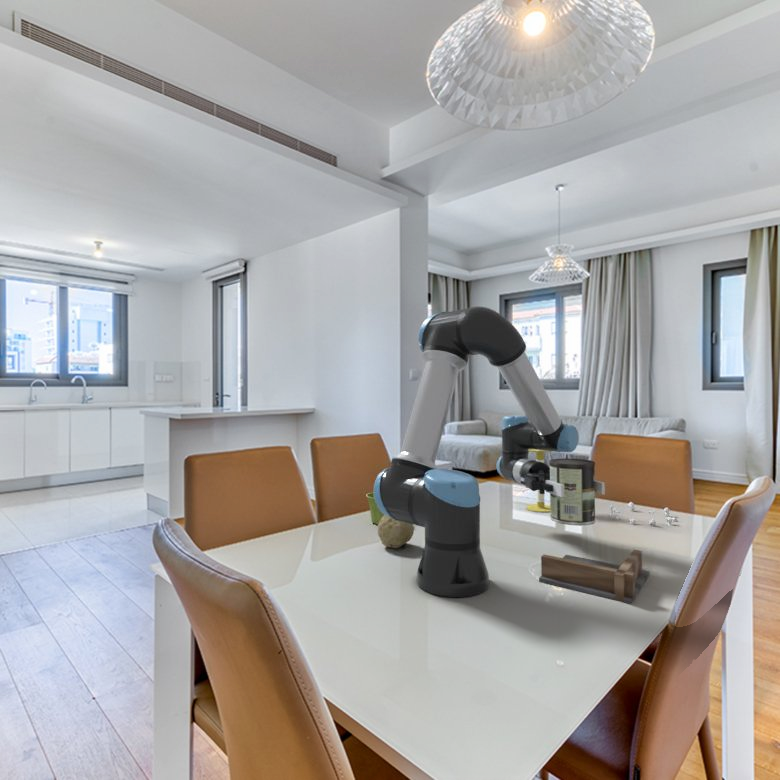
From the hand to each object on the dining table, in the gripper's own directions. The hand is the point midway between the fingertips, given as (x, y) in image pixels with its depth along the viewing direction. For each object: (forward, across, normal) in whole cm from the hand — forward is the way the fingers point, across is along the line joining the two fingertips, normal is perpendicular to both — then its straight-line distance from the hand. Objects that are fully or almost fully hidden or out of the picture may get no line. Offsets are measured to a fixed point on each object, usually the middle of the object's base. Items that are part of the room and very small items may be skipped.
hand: (583, 489), depth 111 cm
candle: (-51, -20, -18) cm, 58 cm away
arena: (+6, +2, -18) cm, 19 cm away
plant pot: (-50, +36, -18) cm, 64 cm away
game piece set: (-32, -44, -18) cm, 57 cm away
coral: (-27, +38, -18) cm, 50 cm away
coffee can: (-4, 0, -8) cm, 9 cm away
